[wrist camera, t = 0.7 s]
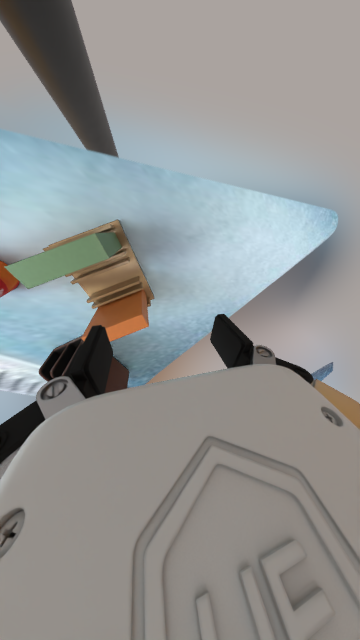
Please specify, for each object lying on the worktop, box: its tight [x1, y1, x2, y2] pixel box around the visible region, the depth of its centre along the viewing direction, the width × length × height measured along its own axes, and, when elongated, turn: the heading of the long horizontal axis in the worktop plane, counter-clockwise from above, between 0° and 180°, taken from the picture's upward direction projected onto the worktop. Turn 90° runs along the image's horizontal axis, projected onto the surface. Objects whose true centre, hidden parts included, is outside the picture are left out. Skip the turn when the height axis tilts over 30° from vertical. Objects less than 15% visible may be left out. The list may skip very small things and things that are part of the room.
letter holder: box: [39, 336, 129, 393], centre depth 35 cm, size 10×20×14 cm, turn 20°
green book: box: [5, 232, 122, 289], centre depth 20 cm, size 3×10×13 cm, turn 107°
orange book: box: [81, 290, 149, 341], centre depth 26 cm, size 3×10×13 cm, turn 107°
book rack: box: [43, 220, 154, 309], centre depth 27 cm, size 17×13×5 cm
